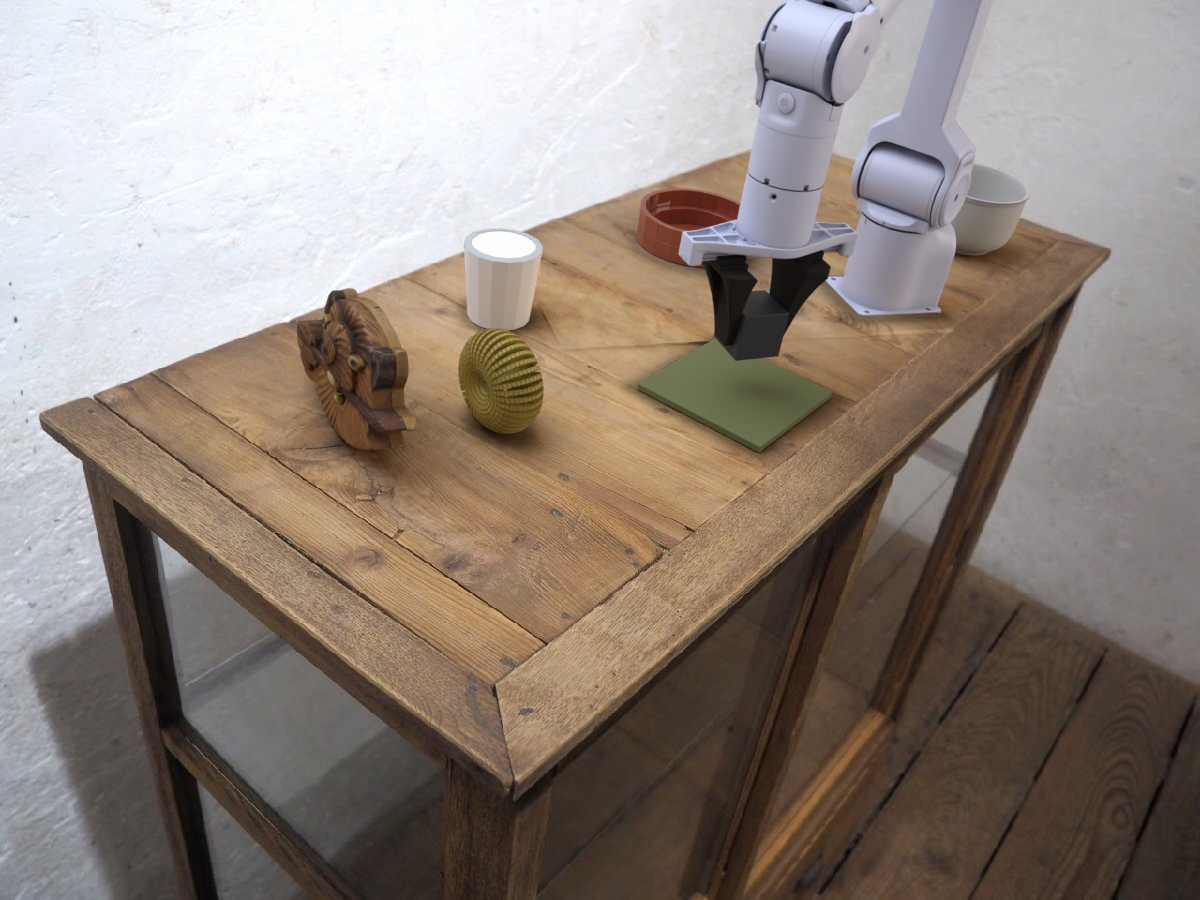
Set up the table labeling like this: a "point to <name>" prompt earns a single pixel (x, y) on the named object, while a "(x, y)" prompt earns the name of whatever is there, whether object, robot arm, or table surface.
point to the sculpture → (500, 380)
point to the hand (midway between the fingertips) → (748, 337)
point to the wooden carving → (358, 371)
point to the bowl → (679, 218)
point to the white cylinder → (501, 277)
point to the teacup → (989, 210)
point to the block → (759, 328)
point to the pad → (736, 394)
